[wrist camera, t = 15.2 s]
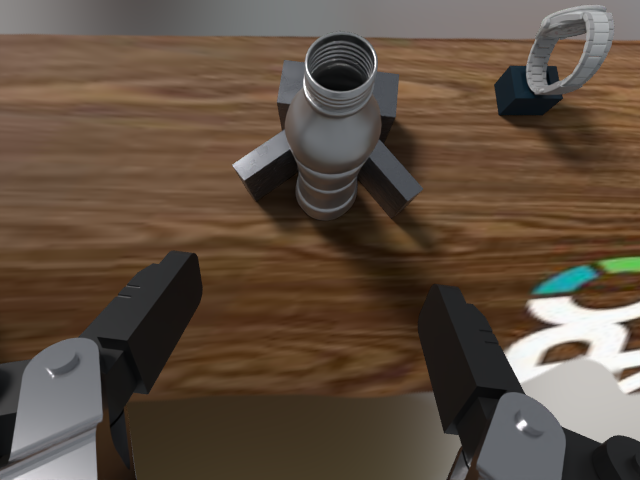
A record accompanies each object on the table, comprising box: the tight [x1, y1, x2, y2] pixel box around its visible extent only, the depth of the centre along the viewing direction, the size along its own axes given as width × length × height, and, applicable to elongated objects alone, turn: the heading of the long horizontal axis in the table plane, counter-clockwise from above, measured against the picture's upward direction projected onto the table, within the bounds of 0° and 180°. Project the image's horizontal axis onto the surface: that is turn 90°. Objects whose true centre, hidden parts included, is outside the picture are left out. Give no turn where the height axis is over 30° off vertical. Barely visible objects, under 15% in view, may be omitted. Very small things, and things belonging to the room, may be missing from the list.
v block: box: [232, 60, 423, 218], centre depth 32 cm, size 18×14×6 cm
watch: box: [494, 5, 614, 115], centre depth 32 cm, size 6×8×11 cm
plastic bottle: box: [285, 31, 381, 221], centre depth 24 cm, size 6×7×20 cm
